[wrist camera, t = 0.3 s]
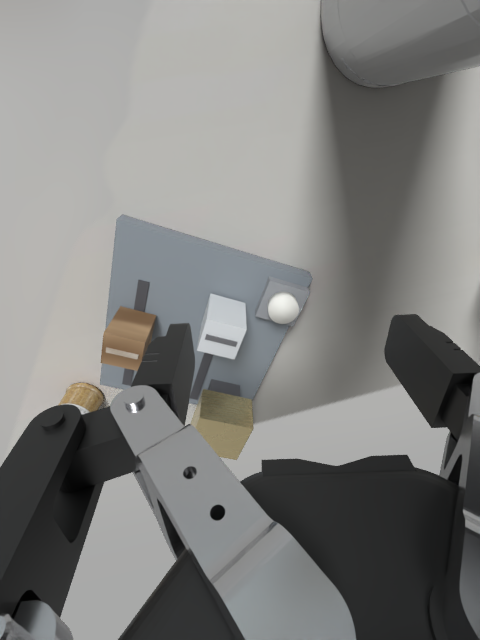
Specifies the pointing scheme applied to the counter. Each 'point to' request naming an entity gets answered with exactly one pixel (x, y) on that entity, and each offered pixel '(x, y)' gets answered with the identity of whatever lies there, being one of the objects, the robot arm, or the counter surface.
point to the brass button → (224, 422)
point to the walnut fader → (127, 338)
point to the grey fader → (222, 327)
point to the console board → (203, 300)
